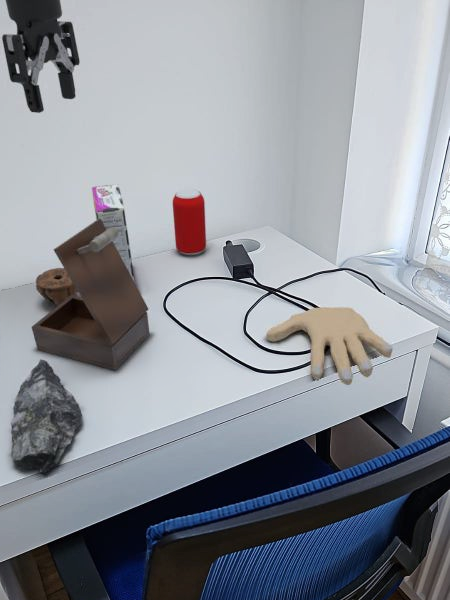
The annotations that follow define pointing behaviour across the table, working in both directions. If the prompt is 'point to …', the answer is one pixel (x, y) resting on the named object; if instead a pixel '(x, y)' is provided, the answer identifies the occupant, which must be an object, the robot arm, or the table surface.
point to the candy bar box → (113, 219)
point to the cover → (102, 279)
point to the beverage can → (189, 221)
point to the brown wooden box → (85, 335)
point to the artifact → (55, 285)
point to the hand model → (334, 339)
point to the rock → (43, 419)
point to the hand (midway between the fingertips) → (53, 105)
